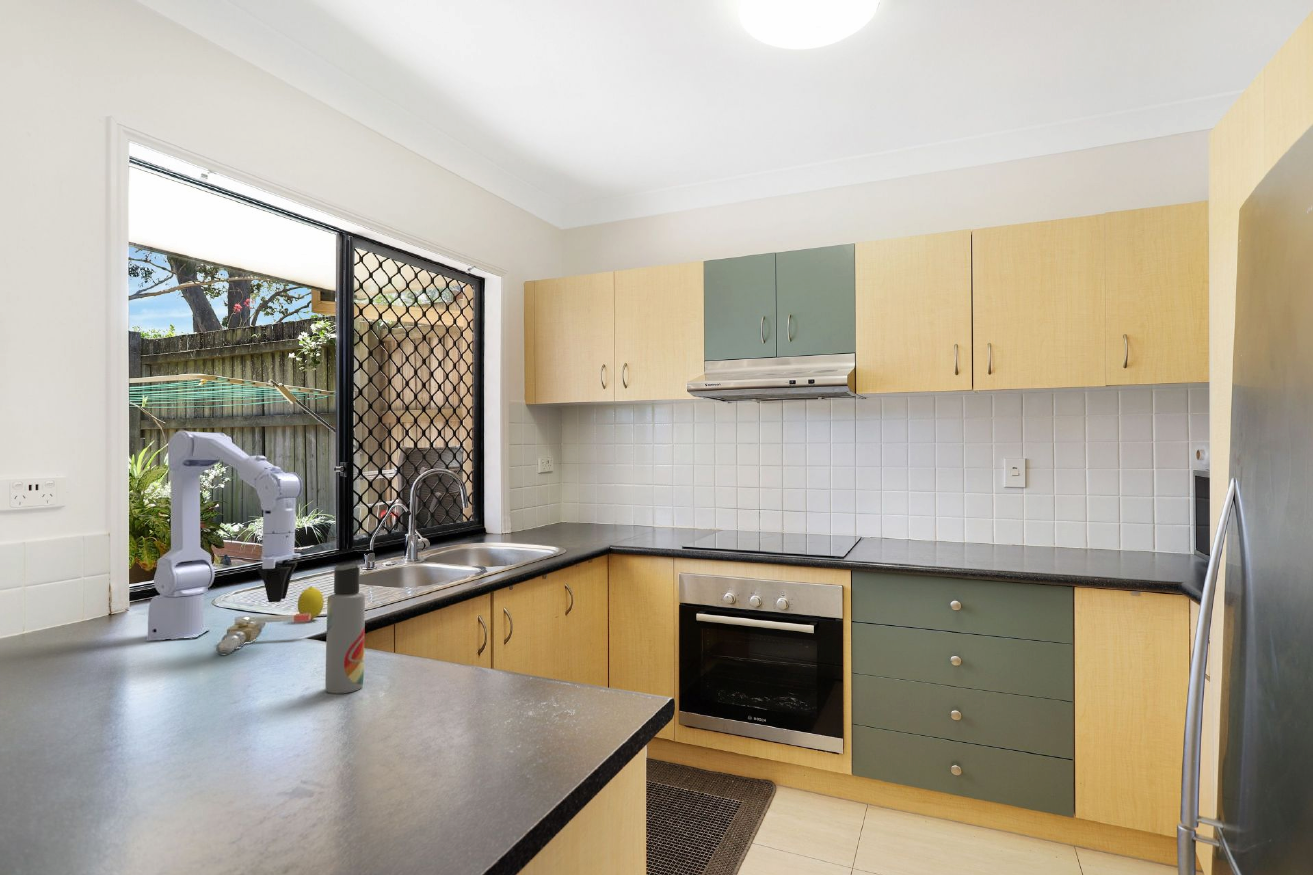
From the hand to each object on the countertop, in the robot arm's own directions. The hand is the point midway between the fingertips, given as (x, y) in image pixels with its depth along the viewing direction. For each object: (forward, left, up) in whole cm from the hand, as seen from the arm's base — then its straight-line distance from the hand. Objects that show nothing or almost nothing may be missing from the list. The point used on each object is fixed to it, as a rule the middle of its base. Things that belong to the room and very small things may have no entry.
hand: (277, 600), depth 141 cm
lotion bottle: (+18, -32, -10) cm, 38 cm away
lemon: (+1, +26, -10) cm, 28 cm away
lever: (-2, +7, -6) cm, 9 cm away
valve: (-8, +7, -9) cm, 14 cm away
